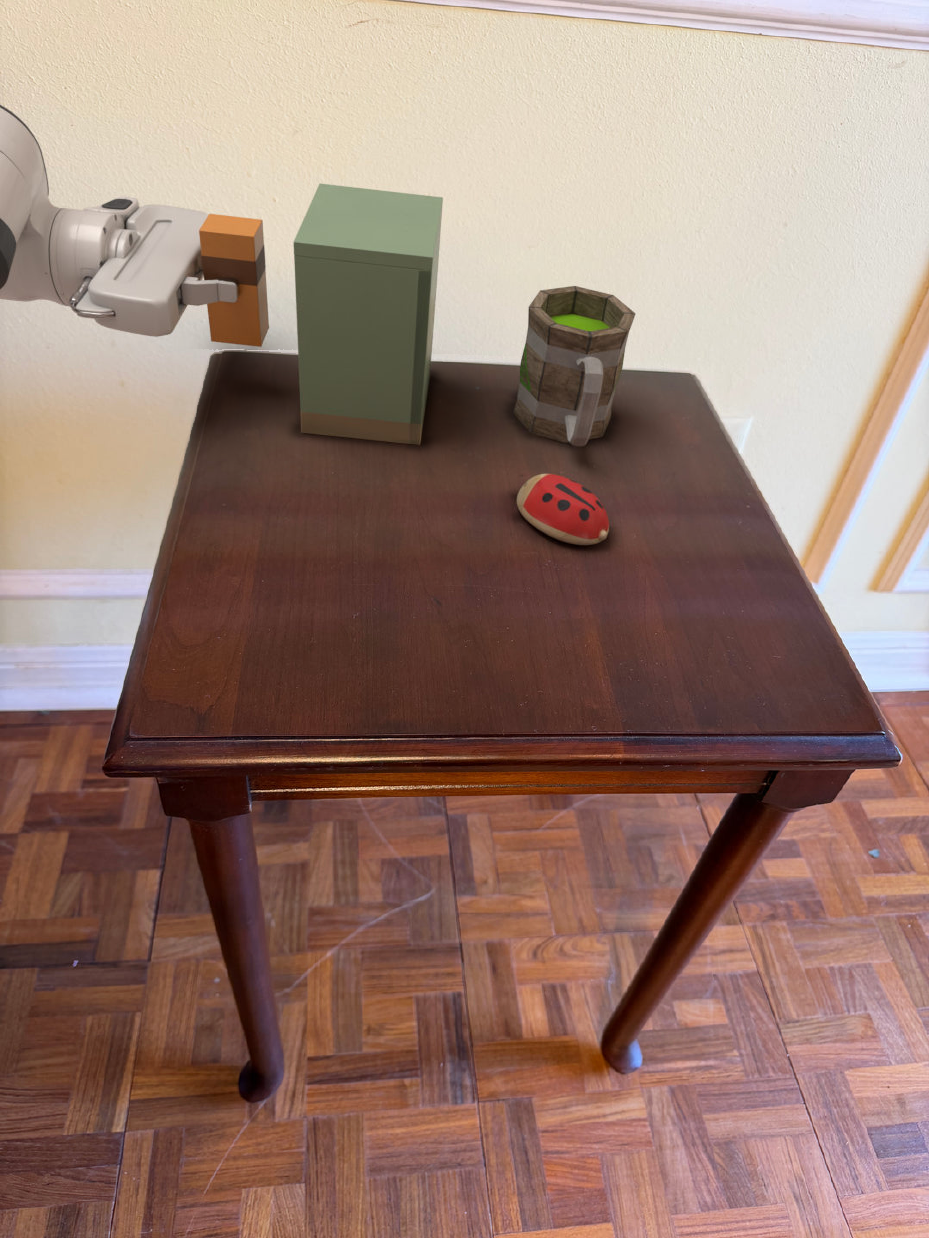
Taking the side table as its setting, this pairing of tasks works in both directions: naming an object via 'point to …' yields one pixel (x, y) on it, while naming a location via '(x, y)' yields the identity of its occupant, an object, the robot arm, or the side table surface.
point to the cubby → (366, 311)
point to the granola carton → (242, 256)
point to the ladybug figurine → (563, 509)
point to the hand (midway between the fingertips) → (244, 278)
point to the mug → (571, 363)
